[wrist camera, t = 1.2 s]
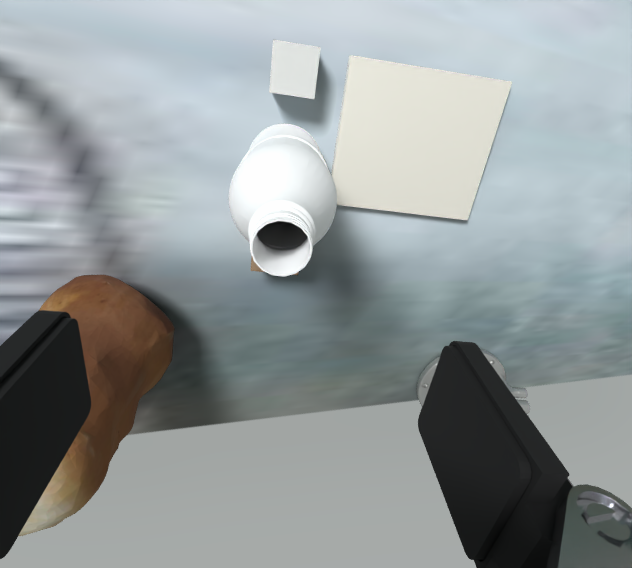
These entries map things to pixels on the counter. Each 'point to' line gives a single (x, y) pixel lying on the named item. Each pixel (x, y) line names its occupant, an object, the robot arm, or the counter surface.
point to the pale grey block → (294, 69)
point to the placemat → (414, 137)
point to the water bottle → (283, 198)
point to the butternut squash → (104, 383)
